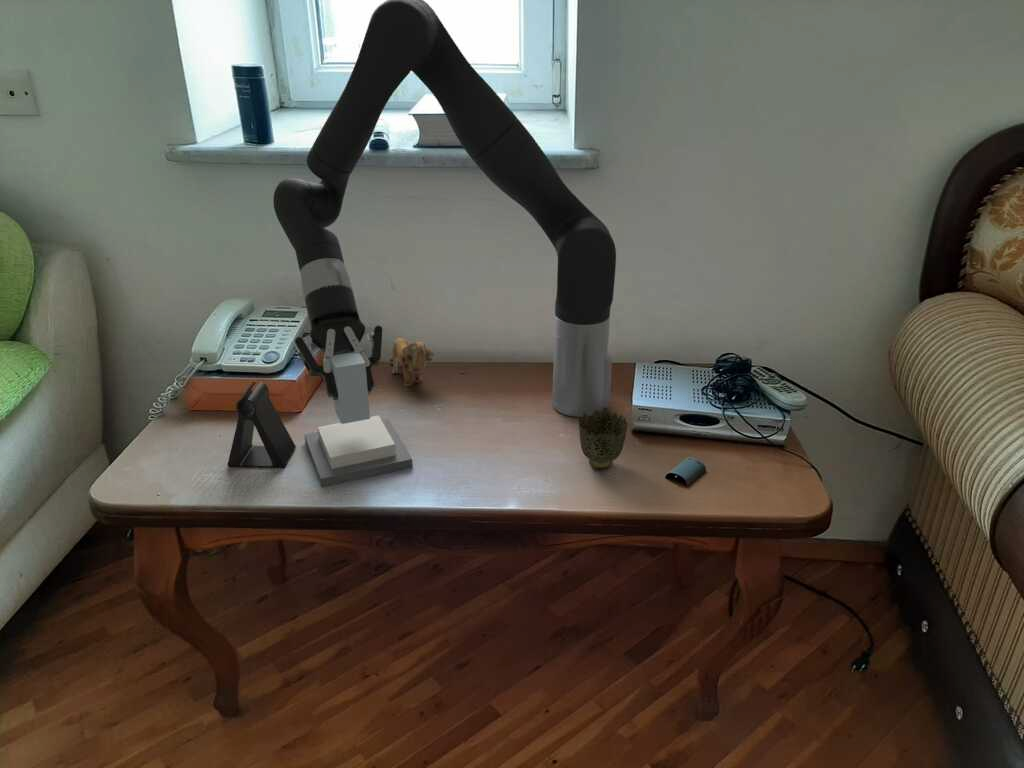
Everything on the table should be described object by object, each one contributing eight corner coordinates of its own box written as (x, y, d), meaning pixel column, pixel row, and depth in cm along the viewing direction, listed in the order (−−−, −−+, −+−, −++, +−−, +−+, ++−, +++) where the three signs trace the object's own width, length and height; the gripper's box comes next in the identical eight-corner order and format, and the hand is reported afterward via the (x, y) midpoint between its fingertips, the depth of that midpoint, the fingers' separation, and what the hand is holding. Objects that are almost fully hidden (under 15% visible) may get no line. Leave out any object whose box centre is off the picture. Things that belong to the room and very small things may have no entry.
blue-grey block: (363, 406, 124) (358, 351, 120) (369, 418, 120) (365, 362, 116) (335, 411, 123) (329, 356, 118) (341, 424, 119) (335, 367, 115)
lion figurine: (439, 387, 146) (437, 343, 142) (414, 394, 143) (411, 349, 139) (401, 360, 157) (398, 318, 153) (377, 366, 154) (373, 324, 150)
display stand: (388, 425, 133) (387, 407, 131) (412, 467, 121) (411, 447, 120) (305, 442, 128) (302, 423, 126) (321, 487, 117) (319, 467, 115)
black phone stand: (296, 448, 126) (286, 381, 121) (285, 468, 121) (274, 400, 116) (241, 447, 127) (229, 380, 121) (227, 467, 121) (214, 398, 116)
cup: (593, 483, 117) (595, 437, 114) (567, 460, 123) (569, 415, 120) (634, 471, 121) (637, 425, 117) (607, 448, 126) (610, 405, 123)
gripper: (282, 289, 117) (306, 396, 113) (376, 277, 122) (402, 379, 118) (281, 310, 124) (303, 411, 119) (370, 298, 129) (394, 395, 124)
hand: (352, 395), depth 119 cm, fingers closed on blue-grey block, 4 cm apart
